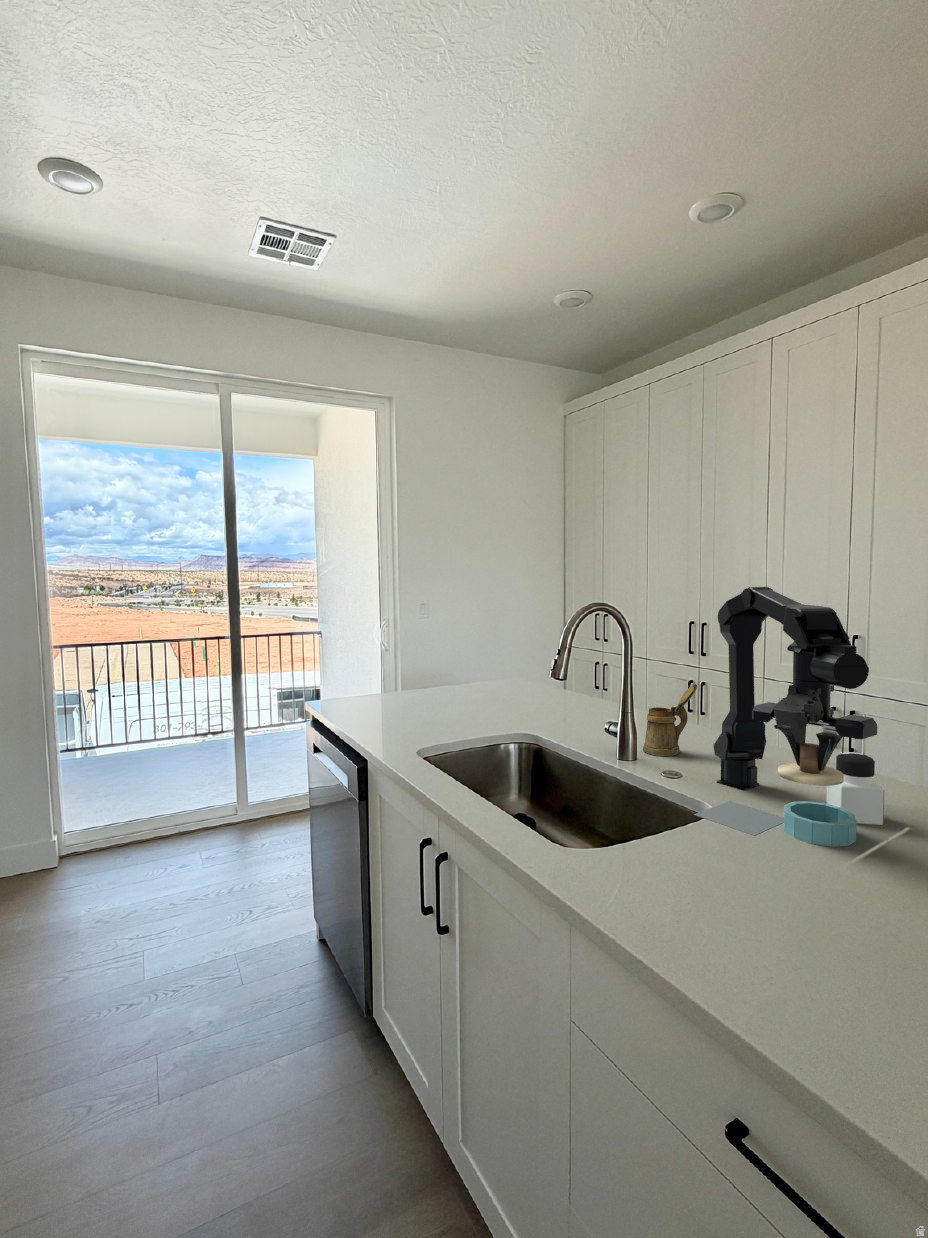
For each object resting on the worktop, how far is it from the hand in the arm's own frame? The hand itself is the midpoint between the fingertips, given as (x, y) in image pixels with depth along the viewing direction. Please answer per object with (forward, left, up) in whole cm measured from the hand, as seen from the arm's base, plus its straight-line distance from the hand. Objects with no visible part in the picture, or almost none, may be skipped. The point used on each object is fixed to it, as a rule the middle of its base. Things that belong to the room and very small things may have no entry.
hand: (810, 768), depth 107 cm
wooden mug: (-47, +24, -12) cm, 54 cm away
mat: (-11, -3, -12) cm, 16 cm away
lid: (0, 0, -2) cm, 2 cm away
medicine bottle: (+1, +14, -12) cm, 18 cm away
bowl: (+1, +1, -12) cm, 12 cm away
